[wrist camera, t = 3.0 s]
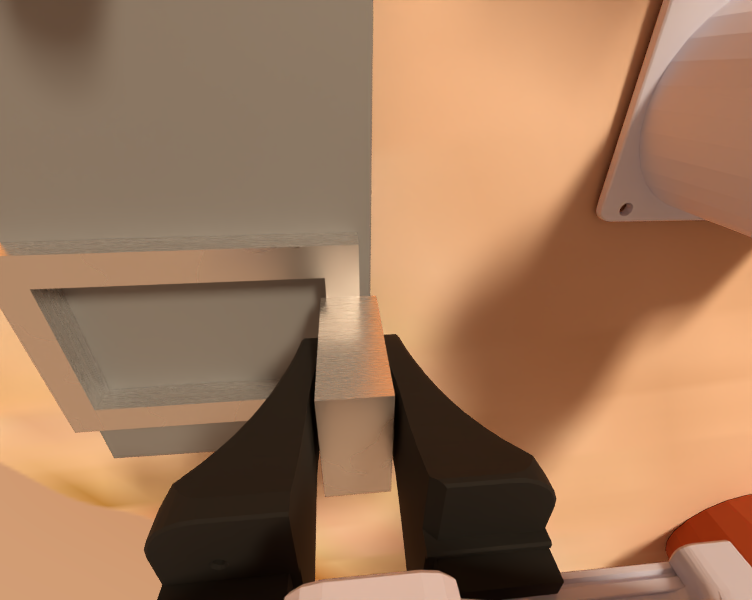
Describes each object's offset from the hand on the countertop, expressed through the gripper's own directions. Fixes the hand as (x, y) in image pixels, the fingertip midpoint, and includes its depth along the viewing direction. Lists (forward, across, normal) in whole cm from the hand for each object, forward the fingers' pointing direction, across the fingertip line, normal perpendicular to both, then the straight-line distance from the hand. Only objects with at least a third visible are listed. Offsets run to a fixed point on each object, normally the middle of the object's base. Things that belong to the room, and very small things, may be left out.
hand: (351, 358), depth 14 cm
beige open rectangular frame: (+2, +6, 0) cm, 6 cm away
